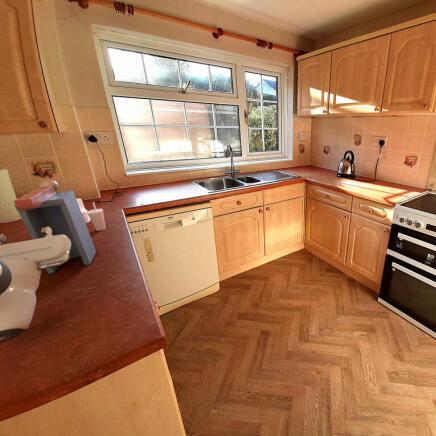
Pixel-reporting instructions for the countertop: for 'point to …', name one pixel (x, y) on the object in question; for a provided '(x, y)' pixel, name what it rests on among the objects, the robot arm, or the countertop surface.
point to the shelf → (61, 224)
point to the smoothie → (97, 218)
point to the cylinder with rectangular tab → (83, 211)
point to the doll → (37, 195)
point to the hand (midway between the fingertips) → (24, 231)
